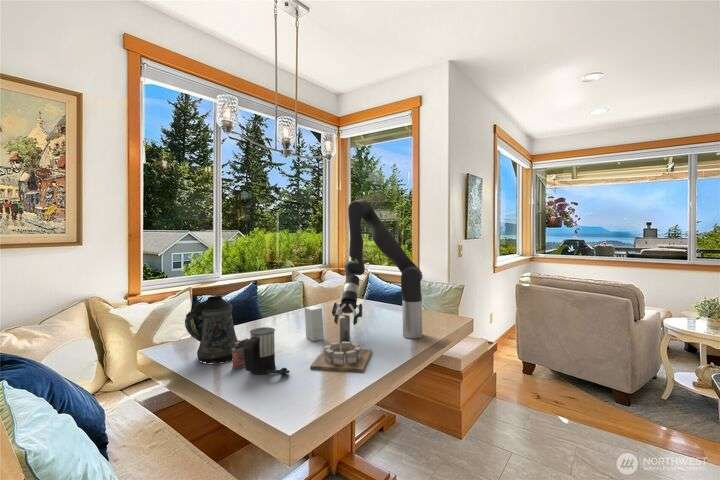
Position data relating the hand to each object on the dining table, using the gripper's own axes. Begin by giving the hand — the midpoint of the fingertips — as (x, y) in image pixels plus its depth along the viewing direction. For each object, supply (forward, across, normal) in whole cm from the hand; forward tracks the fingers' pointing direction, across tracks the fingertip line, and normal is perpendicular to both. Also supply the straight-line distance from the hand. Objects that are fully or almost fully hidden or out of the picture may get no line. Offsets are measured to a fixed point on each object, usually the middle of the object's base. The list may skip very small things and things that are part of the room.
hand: (345, 323), depth 157 cm
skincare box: (+4, -16, +8) cm, 18 cm away
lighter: (+30, -33, -18) cm, 48 cm away
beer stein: (+26, -48, -13) cm, 56 cm away
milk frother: (+32, -19, -20) cm, 43 cm away
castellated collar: (+22, +4, -10) cm, 24 cm away
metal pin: (+7, 0, +5) cm, 8 cm away
